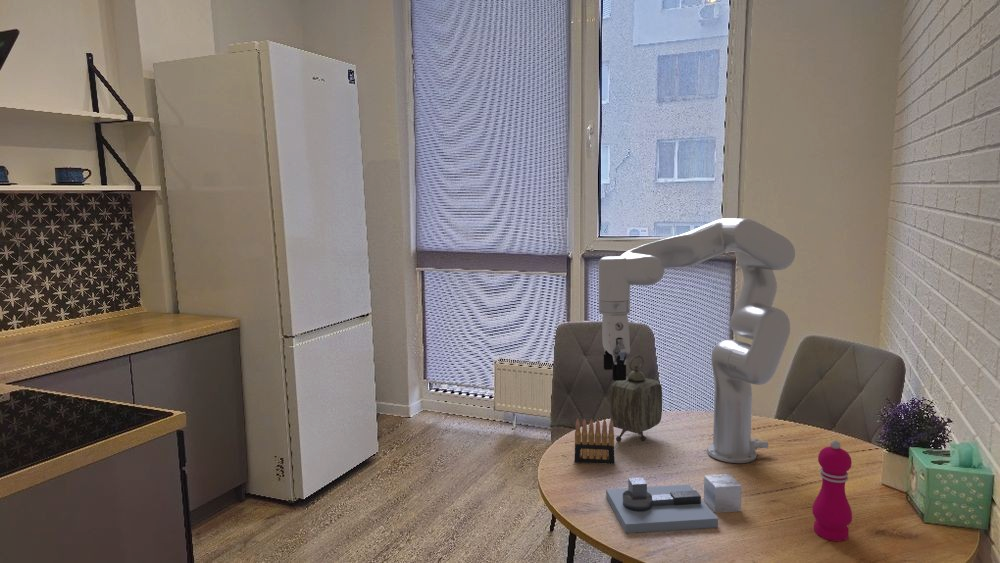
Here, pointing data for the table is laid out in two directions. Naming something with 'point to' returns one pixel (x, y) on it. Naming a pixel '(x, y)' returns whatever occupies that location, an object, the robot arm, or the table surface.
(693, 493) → the ratchet
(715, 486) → the matte grey cube
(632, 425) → the tabletop clock
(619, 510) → the slate board
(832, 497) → the pepper mill
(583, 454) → the ammunition clip
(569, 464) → the table surface
